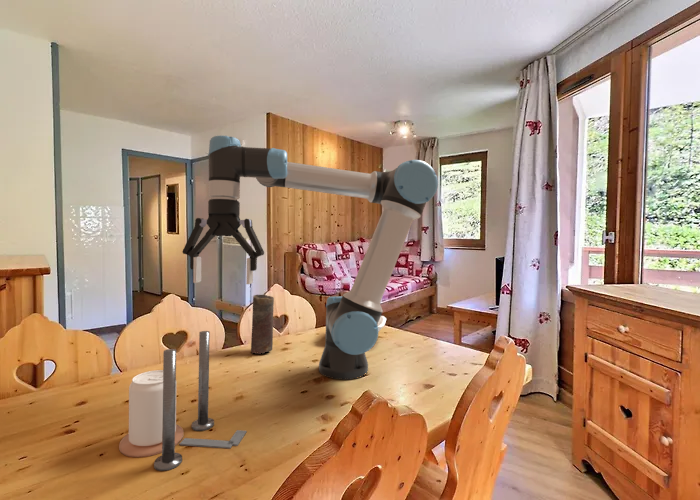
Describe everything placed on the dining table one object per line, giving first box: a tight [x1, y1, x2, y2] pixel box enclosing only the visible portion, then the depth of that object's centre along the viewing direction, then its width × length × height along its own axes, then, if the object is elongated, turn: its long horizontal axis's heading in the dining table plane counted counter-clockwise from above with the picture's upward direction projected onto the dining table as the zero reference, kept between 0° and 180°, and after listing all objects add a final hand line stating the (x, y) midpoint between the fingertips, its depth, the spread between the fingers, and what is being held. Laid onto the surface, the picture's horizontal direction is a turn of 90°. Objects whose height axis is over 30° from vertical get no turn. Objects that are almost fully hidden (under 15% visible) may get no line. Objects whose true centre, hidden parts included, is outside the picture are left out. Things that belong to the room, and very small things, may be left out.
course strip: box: [178, 429, 247, 449], centre depth 72 cm, size 11×6×1 cm, turn 86°
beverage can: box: [128, 369, 177, 446], centre depth 70 cm, size 8×8×12 cm
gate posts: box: [153, 330, 215, 472], centre depth 70 cm, size 4×17×20 cm, turn 176°
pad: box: [118, 424, 184, 458], centre depth 71 cm, size 11×11×1 cm
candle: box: [250, 294, 275, 355], centre depth 127 cm, size 8×7×20 cm
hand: (223, 283), depth 92 cm, fingers open, 13 cm apart
